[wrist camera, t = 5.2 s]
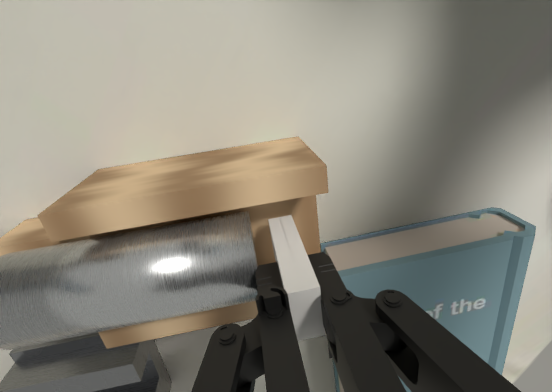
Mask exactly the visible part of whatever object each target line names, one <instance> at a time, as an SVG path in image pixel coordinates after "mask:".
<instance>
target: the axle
mask: <svg viewBox="0 0 552 392" xmlns="http://www.w3.org/2000/svg"><path fill="white" fill-rule="evenodd" d="M257 267H258V261H257V255H256V249H255V243H254V237H253V232H252V227H251V221H250V217H249V212H248V211H245V212H240V213H234V214H228V215H223V216H217V217H211V218H206V219H200V220H194V221H189V222H183V223H177V224H172V225H166V226H160V227H154V228H149V229H143V230H137V231H132V232H126V233H120V234H115V235H109V236H103V237H98V238H92V239H86V240H80V241H75V242H69V243H63V244H58V245H52V246H46V247H41V248H35V249H29V250H24V251H18V252H12V253H8V254H5V255H3V256H1V257H0V349H6V350H10V349H16V348H21V347H26V346H31V345H36V344H41V343H46V342H51V341H56V340H61V339H67V338H72V337H77V336H82V335H87V334H92V333H97V332H102V331H107V330H112V329H117V328H122V327H127V326H132V325H137V324H142V323H147V322H152V321H157V320H162V319H167V318H172V317H177V316H182V315H187V314H192V313H197V312H202V311H207V310H213V309H218V308H223V307H228V306H233V305H238V304H243V303H248V302H253V301H255V300H256V296H257V294H258V293H257V284H256V275H255V272H256V270H257Z"/></svg>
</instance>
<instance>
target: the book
mask: <svg viewBox="0 0 552 392" xmlns="http://www.w3.org/2000/svg"><path fill="white" fill-rule="evenodd" d="M535 230H536V226H534V225H532V224H530V223H528V222H526V221H524V220H522V219H520V218H518V217H517V216H515V215H513V214H511V213H509V212H507V211H505V210H503V209H501V208H487V209H482V210H477V211H473V212H468V213H463V214H458V215H454V216H449V217H444V218H439V219H435V220H430V221H425V222H420V223H416V224H411V225H406V226H401V227H397V228H392V229H387V230H382V231H378V232H373V233H368V234H363V235H359V236H354V237H349V238H344V239H340V240H335V241H330V242H325V243H321V244H320V247H321V252H324V253H325V254H327V255H328V256H330V258H331V260H332V262H333V264H334V266H335V268H336V270H337V271H338V273H339V275H340V277H341V279H342V281H343V283H344V285H345V287H346V289H347V290H349V291H351V292H352V293H353V294H354V295H355V296H357V297H360V298H372V299H375V297H376V295H377V294H378V293H379V292H381V291H383V290H387V289H389V290H396V291H400V292H402V293H403V294H405V295H406V296H407V297H409V298H410V299H411V300H412V301H413V302H415V303H416V304H417V305H418V306H419V307H421V308H422V309H423V310H424V311H425V312H427V313H428V314H429V315H430V316H431V317H433V318H434V319H435V320H436V321H437V322H439V323H440V324H441V325H442V326H443V327H444V328H446V329H447V330H448V331H449V332H450V333H452V334H453V335H454V336H455V337H456V338H458V339H459V340H460V341H461V342H462V343H464V344H465V345H466V346H467V347H468V348H470V349H471V350H472V351H473V352H474V353H476V354H477V355H478V356H479V357H480V358H481V359H483V360H484V361H485V362H486V363H487V364H489V365H490V366H491V367H492V368H493V369H495V370H496V371H497V372H498V373H499V374H501V375H502V372H503V368H504V363H505V359H506V355H507V351H508V346H509V342H510V338H511V334H512V330H513V325H514V321H515V317H516V313H517V309H518V304H519V300H520V296H521V292H522V287H523V283H524V279H525V275H526V271H527V266H528V262H529V258H530V254H531V250H532V245H533V241H534V237H535ZM333 364H334V373H335V382H336V391H337V392H344V389H343V386H342V384H341V381H340V378H339V375H338V372H337V369H336V366H335V363H334V361H333ZM398 377H399V376H398ZM399 379H400V377H399ZM400 381H401V383H402V384H403V386H404V388H405V390H406V392H411V391H410V389H409V388H408V387H407V386H406V385H405V383H404V382H403V381H402V380H401V379H400Z"/></svg>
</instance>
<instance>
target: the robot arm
mask: <svg viewBox="0 0 552 392" xmlns="http://www.w3.org/2000/svg"><path fill="white" fill-rule="evenodd" d="M268 222H269V228H270V233H271V239H272V245H273V251H274V256H275V261H276V262H273V263H268V264H263V265H258V267H257V270H256V272H255V275H256V284H257V293H258V294H257V296H256V300H255V301H256V305H257V310H258V314H257V316H256V317H255V319H253V320H252V321H251V322H250V323H248V324H246V325H244V326H242V327H240V326H239V325H237V324H232V323H230V324H225V325H223V326H221V327H219V328H218V329H217V330H216V331H214V333H213V335H212V336H211V339H210V341H209V344H208V347H207V350H206V353H205V355H204V358H203V361H202V364H201V367H200V369H199V372H198V375H197V378H196V380H195V383H194V386H193V389H192V392H253V391H254V386H255V379H256V378H258V377H260V376H261V375H263V374H265V380H266V390H267V392H310V391H309V387H308V382H307V378H306V374H305V370H304V366H303V361H302V357H301V353H300V349H299V345H298V341H302V340H306V339H311V338H315V337H320V336H324V335H325V331H326V334H327V337H328V347H329V356H330V358H333V361H334V363H335V366H336V369H337V372H338V375H339V378H340V381H341V384H342V386H343V389H344V392H406V390H405V388H404V386H403V384H402V383H401V381H400V379H401V380H402V381H403V382H404V383H405V385H406V386H407V387H408V388H409V389H410V391H411V392H521V391H520V390H518V389H517V388H516V387H515V386H514V385H513V384H511V383H510V382H509V381H508V380H507V379H505V378H504V377H503V376H502V375H501V374H499V373H498V372H497V371H496V370H495V369H493V368H492V367H491V366H490V365H489V364H487V363H486V362H485V361H484V360H483V359H481V358H480V357H479V356H478V355H477V354H476V353H474V352H473V351H472V350H471V349H470V348H468V347H467V346H466V345H465V344H464V343H462V342H461V341H460V340H459V339H458V338H456V337H455V336H454V335H453V334H452V333H450V332H449V331H448V330H447V329H446V328H444V327H443V326H442V325H441V324H440V323H439V322H437V321H436V320H435V319H434V318H433V317H431V316H430V315H429V314H428V313H427V312H425V311H424V310H423V309H422V308H421V307H419V306H418V305H417V304H416V303H415V302H413V301H412V300H411V299H410V298H409V297H407V296H406V295H405V294H403V293H402V292H400V291H396V290H389V289H387V290H383V291H381V292H379V293H378V294H377V295H376V297H375V299H372V298H360V297H357V296H355V295H354V294H353V293H352V292H351V291H349V290H347V289H346V287H345V285H344V283H343V281H342V279H341V277H340V275H339V273H338V271H337V270H336V268H335V266H334V264H333V262H332V260H331V258H330V256H328V255H327V254H325V253H324V252H320V253H315V254H310V255H307V253H306V250H305V248H304V245H303V243H302V240H301V238H300V235H299V233H298V231H297V228H296V226H295V223H294V221H293V218H292V216H291V215H288V216H282V217H277V218H272V219H268ZM324 328H325V329H324ZM398 376H399V377H400V379H399V377H398Z"/></svg>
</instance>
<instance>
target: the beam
mask: <svg viewBox="0 0 552 392" xmlns="http://www.w3.org/2000/svg"><path fill="white" fill-rule="evenodd" d="M323 193H328V181H327V166H326V164H325V163H324V162H323V161H322V160H321V159H320V158H319V157H318V156H317V155H316V154H315V153H314V152H313V151H312V150H311V149H310V148H309V147H308V146H307V145H306V144H305V143H304V142H303V141H302V140H301V139H300V138H299V137H293V138H287V139H280V140H274V141H268V142H262V143H256V144H250V145H244V146H238V147H232V148H226V149H220V150H214V151H208V152H201V153H195V154H189V155H183V156H177V157H171V158H165V159H159V160H153V161H147V162H141V163H135V164H129V165H122V166H116V167H110V168H104V169H98V170H97V171H96V172H94V173H93V174H92V175H90V176H89V177H88V178H86V179H85V180H84V181H82V182H81V183H80V184H78V185H77V186H76V187H74V188H73V189H72V190H70V191H69V192H68V193H66V194H65V195H64V196H62V197H61V198H60V199H58V200H57V201H56V202H55V203H53V204H52V205H51V206H49V207H48V208H47V209H45V210H44V211H43V212H41V213H40V214H39V215H38V217H39V218H33V219H27V220H24V221H23V222H22V223H20V224H19V225H18V226H16V227H15V228H14V229H12V230H11V231H9V232H8V233H7V234H5V235H4V236H3V237H1V238H0V257H1V256H3V255H5V254H8V253H12V252H18V251H24V250H29V249H35V248H41V247H46V246H52V245H58V244H63V243H69V242H75V241H80V240H86V239H92V238H98V237H103V236H109V235H115V234H120V233H126V232H132V231H137V230H143V229H149V228H154V227H160V226H166V225H172V224H177V223H183V222H189V221H194V220H200V219H206V218H211V217H217V216H223V215H228V214H234V213H240V212H245V211H248V212H249V217H250V221H251V227H252V232H253V237H254V243H255V249H256V255H257V261H258V265H263V264H268V263H273V262H276V261H275V256H274V251H273V245H272V239H271V233H270V228H269V222H268V219H272V218H277V217H282V216H288V215H291V216H292V218H293V221H294V223H295V226H296V228H297V231H298V233H299V235H300V238H301V240H302V243H303V245H304V248H305V250H306V253H307V255H310V254H315V253H320V252H321V251H320V239H319V228H318V216H317V204H316V195H317V194H323ZM257 314H258V310H257V305H256V301H253V302H248V303H243V304H238V305H233V306H228V307H223V308H218V309H213V310H207V311H202V312H197V313H192V314H187V315H182V316H177V317H172V318H167V319H162V320H157V321H152V322H147V323H142V324H137V325H132V326H127V327H122V328H117V329H112V330H107V331H102V332H98V333H99V335H100V337H101V339H102V341H103V343H104V344H105V346H106V348H107V349H108V348H113V347H118V346H123V345H128V344H133V343H137V342H142V341H147V340H152V339H157V338H162V337H166V336H171V335H176V334H181V333H186V332H191V331H195V330H200V329H205V328H210V327H215V326H220V325H224V324H229V323H234V322H239V321H244V320H249V319H254V318H255V317H256V316H257Z"/></svg>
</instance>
